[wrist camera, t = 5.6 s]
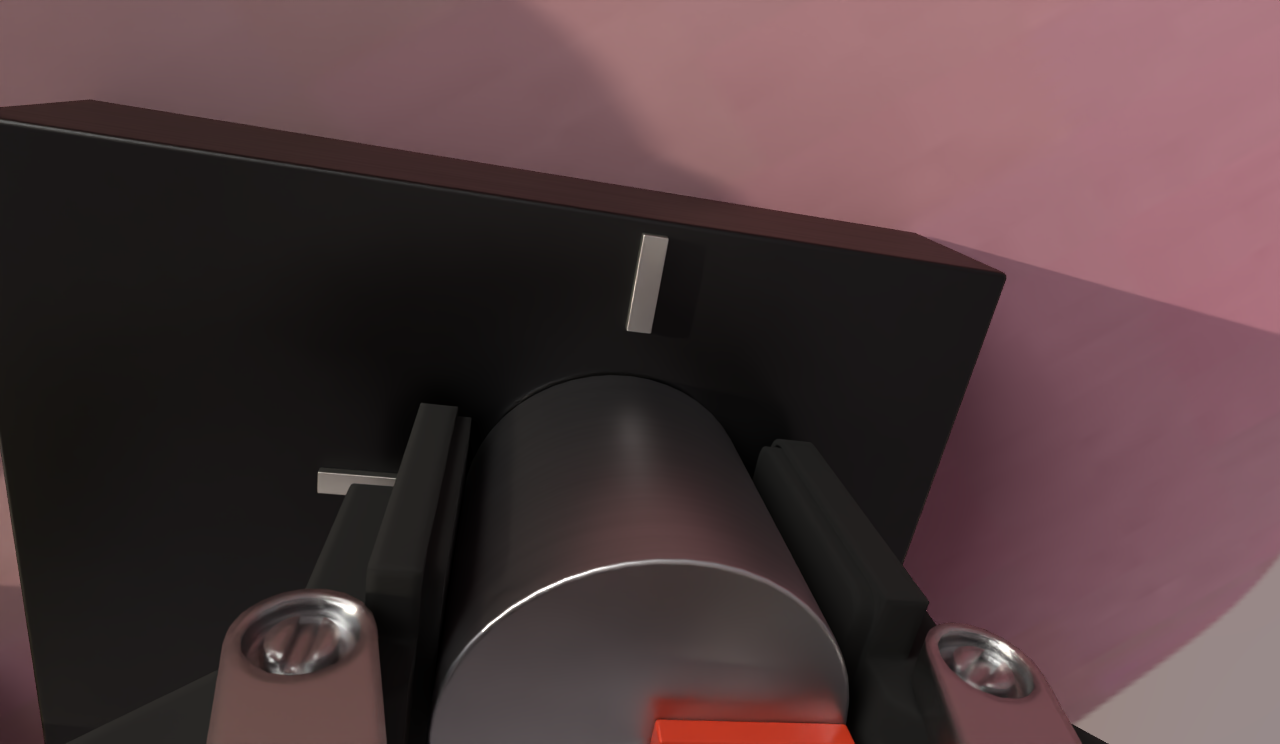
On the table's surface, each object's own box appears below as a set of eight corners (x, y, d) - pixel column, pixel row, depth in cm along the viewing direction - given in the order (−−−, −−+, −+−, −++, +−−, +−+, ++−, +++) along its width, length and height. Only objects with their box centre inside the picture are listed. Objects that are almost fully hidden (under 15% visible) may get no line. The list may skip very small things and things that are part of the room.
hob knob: (452, 606, 12) (407, 914, 8) (478, 357, 11) (440, 566, 6) (710, 619, 13) (801, 905, 9) (769, 390, 11) (918, 595, 7)
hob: (139, 697, 16) (49, 840, 13) (86, 98, 11) (-65, 110, 8) (766, 713, 18) (811, 835, 15) (916, 232, 14) (1017, 276, 11)
